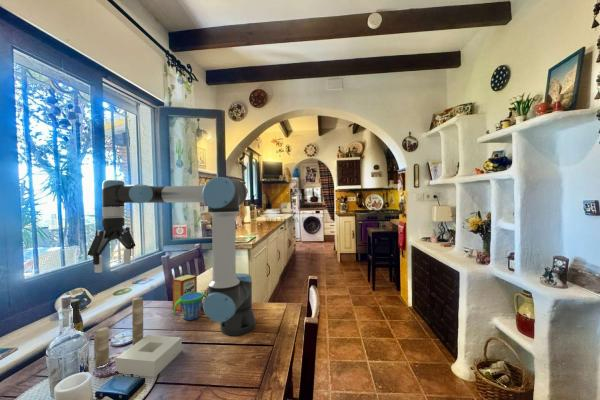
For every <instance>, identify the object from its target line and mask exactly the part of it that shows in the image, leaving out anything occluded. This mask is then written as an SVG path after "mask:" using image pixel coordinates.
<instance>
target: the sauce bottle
mask: <svg viewBox="0 0 600 400" xmlns="http://www.w3.org/2000/svg"><path fill="white" fill-rule="evenodd" d="M70 300H71V306H72V308H73V323H74V328H75V329H76V330H78V331H81V332H83V333H84V320H83V317H82V314H81V313H80V304H81V299H80V298H74V299H73V298H72V299H70Z"/></svg>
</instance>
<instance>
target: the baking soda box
mask: <svg viewBox="0 0 600 400" xmlns="http://www.w3.org/2000/svg"><path fill="white" fill-rule="evenodd" d="M197 278H198V277H197V275H193V274H185V275H180V276H178V277H174V278H173V279H172V311H174V305H175V303H176V302H177V301H178V300H179V299H180V297H181V296H182V295H185V294H188V293H193V292H198V289H197V288H198V286H197V284H198V283H197ZM175 309H176V312H180V313H182V307H181V304H180V302H179V303H178V304H177V305H176V308H175Z"/></svg>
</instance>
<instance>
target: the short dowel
mask: <svg viewBox="0 0 600 400" xmlns="http://www.w3.org/2000/svg"><path fill="white" fill-rule="evenodd" d="M95 359H96V334H94V335H93V360H95Z"/></svg>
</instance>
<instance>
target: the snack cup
mask: <svg viewBox="0 0 600 400" xmlns="http://www.w3.org/2000/svg"><path fill="white" fill-rule="evenodd" d="M204 297H205V298H206V297H207V295H206V294H204V293H203V292H198V291H197V292H193V293H188V294H185V295H182V296H181V297H180V299H179V300H178V301H177V302H176V303H175V305H174V310H173V312H174V315H175V316H177V311H176V309H175V308H176V305H177V304H178V303H179V302H180V304H181V307H182V312H181V313H182V317H183V319H184V320H185V321H192V320H196V319H198V318H200V315H201V312H202V307H203V301H204V300H203V299H204Z"/></svg>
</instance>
